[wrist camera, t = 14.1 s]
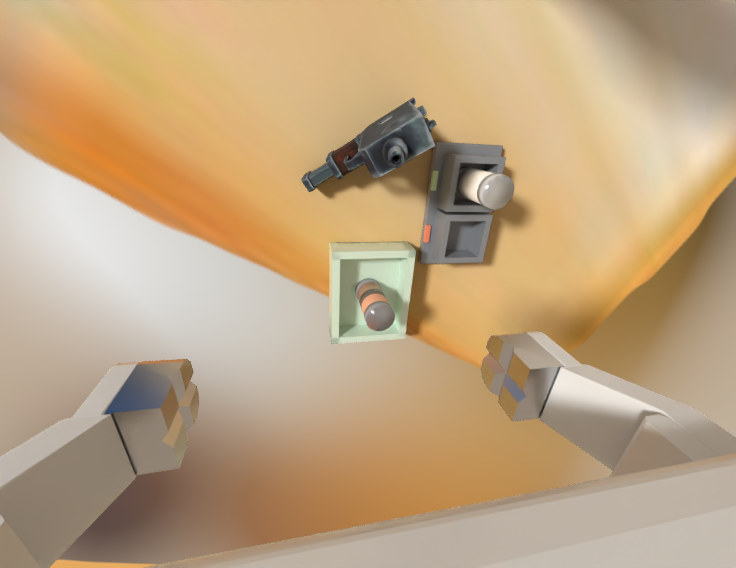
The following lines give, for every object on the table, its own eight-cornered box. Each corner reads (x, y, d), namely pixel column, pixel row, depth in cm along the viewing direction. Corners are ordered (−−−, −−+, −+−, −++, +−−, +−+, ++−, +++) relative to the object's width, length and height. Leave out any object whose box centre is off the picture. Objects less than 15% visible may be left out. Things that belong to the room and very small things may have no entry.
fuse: (453, 165, 40) (486, 174, 33) (480, 167, 41) (517, 175, 34) (448, 195, 42) (479, 209, 35) (474, 196, 43) (509, 209, 36)
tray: (329, 242, 43) (332, 252, 40) (407, 241, 45) (416, 250, 42) (329, 329, 49) (331, 344, 46) (398, 325, 51) (405, 338, 48)
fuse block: (434, 141, 40) (447, 143, 36) (498, 145, 41) (517, 147, 38) (418, 261, 47) (428, 272, 43) (474, 259, 48) (488, 270, 45)
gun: (268, 214, 26) (438, 113, 22) (306, 164, 40) (415, 96, 36) (288, 240, 28) (452, 149, 23) (319, 183, 41) (425, 119, 37)
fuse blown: (355, 278, 45) (366, 306, 38) (381, 277, 46) (396, 305, 39) (354, 301, 47) (365, 332, 40) (379, 300, 47) (393, 330, 40)
